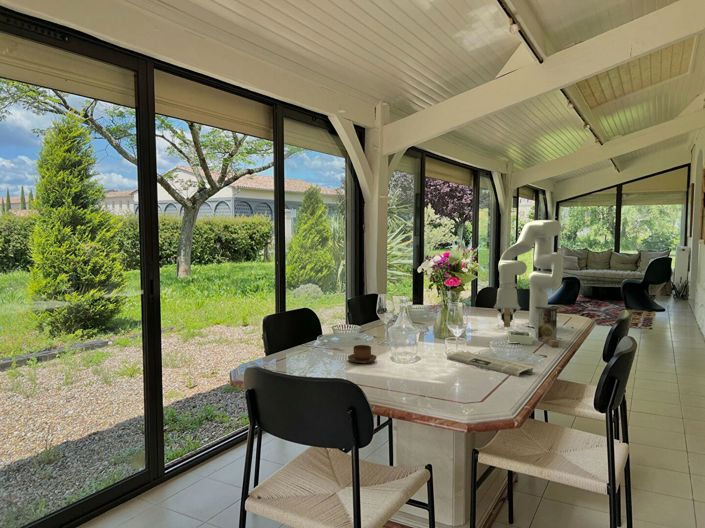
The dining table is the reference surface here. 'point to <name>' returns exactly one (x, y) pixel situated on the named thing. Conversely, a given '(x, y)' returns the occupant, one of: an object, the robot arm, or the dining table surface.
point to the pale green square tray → (520, 337)
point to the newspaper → (492, 363)
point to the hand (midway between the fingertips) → (507, 321)
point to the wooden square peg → (506, 317)
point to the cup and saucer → (362, 354)
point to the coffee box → (545, 322)
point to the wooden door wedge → (550, 341)
